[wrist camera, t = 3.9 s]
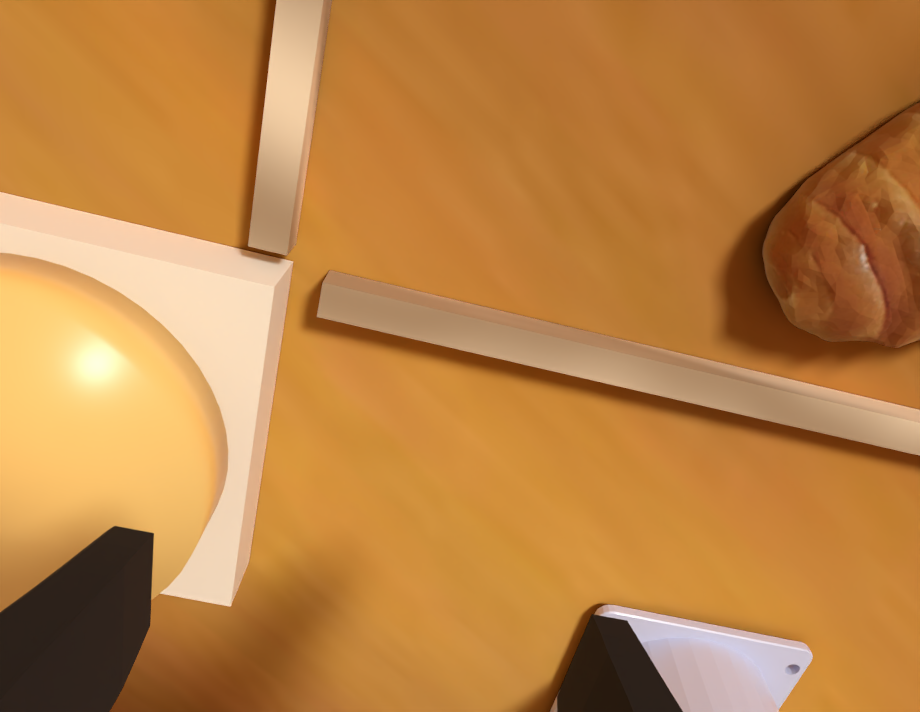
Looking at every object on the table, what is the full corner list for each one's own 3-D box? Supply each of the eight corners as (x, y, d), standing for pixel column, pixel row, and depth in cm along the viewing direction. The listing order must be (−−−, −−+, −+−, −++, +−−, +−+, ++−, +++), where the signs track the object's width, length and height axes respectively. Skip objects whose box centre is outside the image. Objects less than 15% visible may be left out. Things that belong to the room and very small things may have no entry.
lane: (997, 459, 21) (1035, 491, 20) (252, 286, 19) (234, 308, 18) (1484, -224, 14) (1600, -252, 12) (365, -630, 12) (349, -721, 10)
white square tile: (248, 561, 23) (230, 606, 22) (-89, 496, 22) (-138, 537, 21) (293, 261, 19) (274, 286, 17) (-132, 160, 18) (-200, 176, 16)
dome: (232, 555, 23) (187, 655, 19) (-83, 494, 22) (-192, 587, 18) (269, 278, 19) (220, 340, 15) (-120, 187, 18) (-272, 230, 14)
